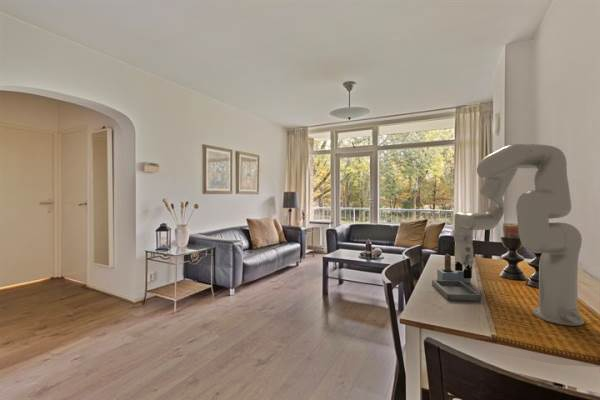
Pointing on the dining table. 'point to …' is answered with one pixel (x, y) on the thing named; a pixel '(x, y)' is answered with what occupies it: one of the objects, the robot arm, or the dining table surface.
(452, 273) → the light blue chunk
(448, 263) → the post
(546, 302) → the robot arm
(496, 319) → the dining table surface
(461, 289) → the tray
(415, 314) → the dining table surface
